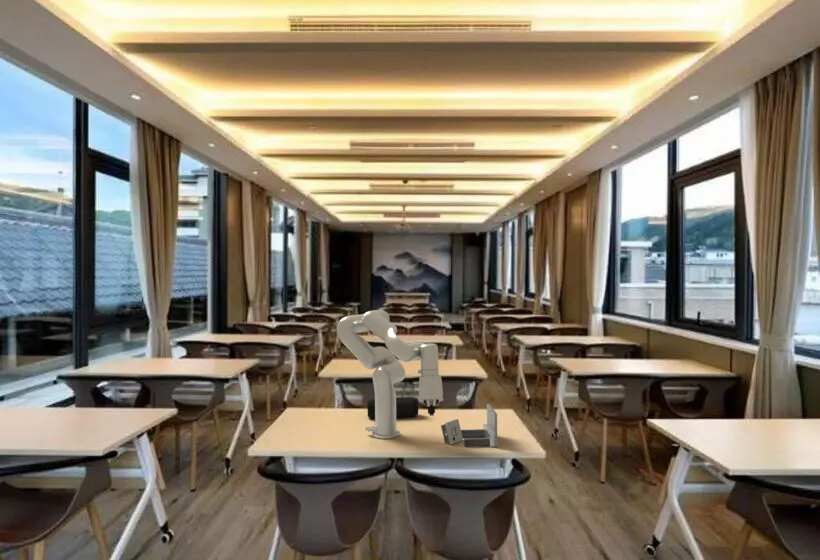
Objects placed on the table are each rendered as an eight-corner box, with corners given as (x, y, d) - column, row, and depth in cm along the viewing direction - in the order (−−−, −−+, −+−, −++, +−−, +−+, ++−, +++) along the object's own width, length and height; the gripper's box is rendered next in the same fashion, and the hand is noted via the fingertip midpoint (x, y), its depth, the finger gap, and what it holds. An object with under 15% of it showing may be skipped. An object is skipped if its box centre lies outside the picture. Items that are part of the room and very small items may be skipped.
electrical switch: (451, 445, 239) (449, 423, 239) (441, 444, 242) (439, 422, 242) (463, 440, 246) (461, 419, 247) (453, 439, 249) (451, 418, 250)
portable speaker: (367, 420, 282) (367, 400, 282) (367, 415, 292) (367, 396, 292) (418, 418, 284) (418, 399, 284) (416, 413, 294) (416, 394, 294)
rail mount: (465, 448, 235) (464, 414, 234) (459, 435, 254) (459, 404, 253) (497, 447, 235) (497, 413, 235) (489, 434, 254) (489, 403, 254)
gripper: (412, 374, 239) (414, 418, 239) (448, 373, 240) (449, 416, 240) (412, 371, 247) (413, 413, 247) (446, 370, 247) (447, 412, 247)
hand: (431, 415), depth 243 cm, fingers closed
